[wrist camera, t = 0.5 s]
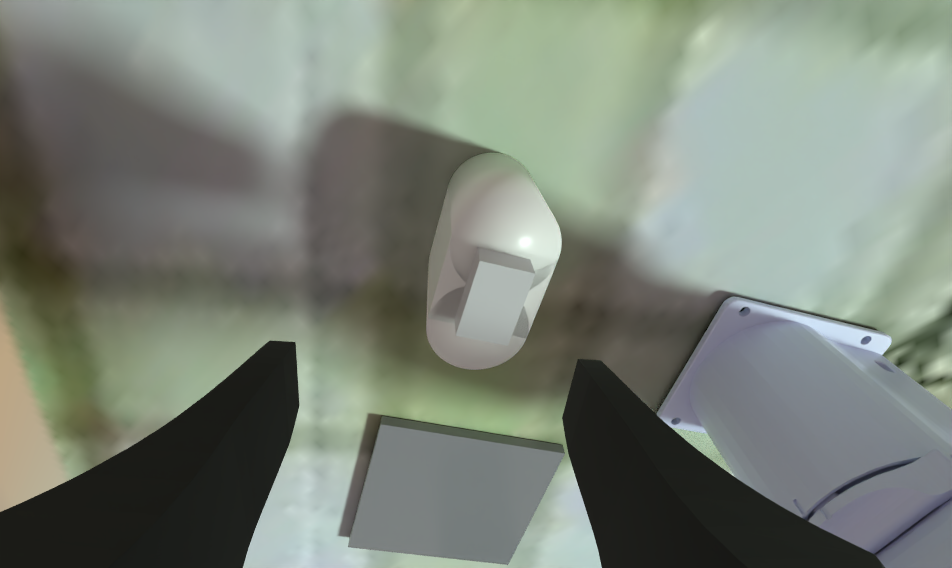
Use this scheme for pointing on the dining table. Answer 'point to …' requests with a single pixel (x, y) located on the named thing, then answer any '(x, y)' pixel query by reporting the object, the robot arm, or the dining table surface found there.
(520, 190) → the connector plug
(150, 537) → the robot arm
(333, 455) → the dining table surface
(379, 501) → the slate coaster
